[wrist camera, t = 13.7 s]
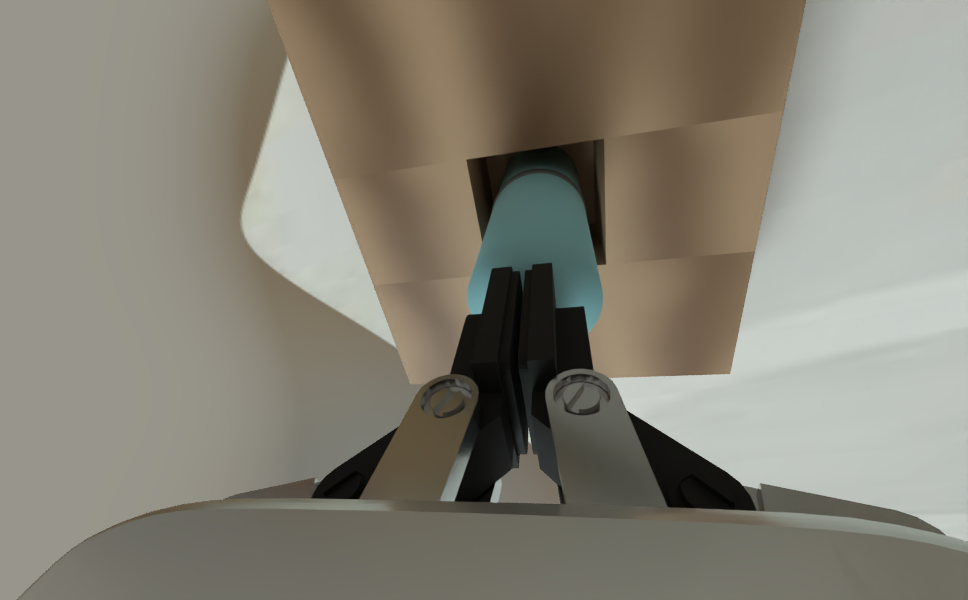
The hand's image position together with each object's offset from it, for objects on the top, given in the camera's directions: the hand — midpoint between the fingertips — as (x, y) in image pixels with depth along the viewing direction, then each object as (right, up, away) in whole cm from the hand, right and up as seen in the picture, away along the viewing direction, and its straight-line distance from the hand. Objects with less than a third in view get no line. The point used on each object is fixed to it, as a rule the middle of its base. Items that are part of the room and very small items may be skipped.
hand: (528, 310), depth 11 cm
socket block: (+2, +7, +11) cm, 14 cm away
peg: (+2, +7, +10) cm, 13 cm away
